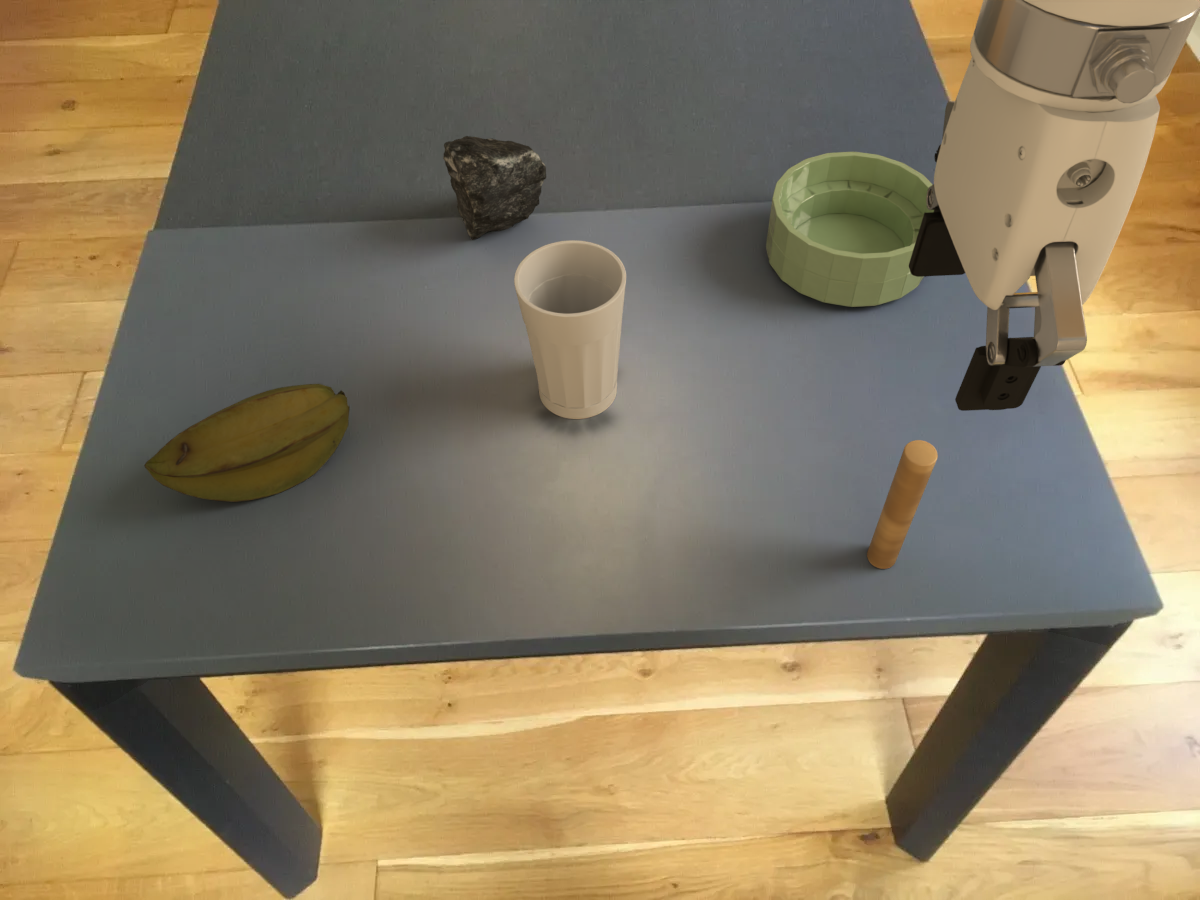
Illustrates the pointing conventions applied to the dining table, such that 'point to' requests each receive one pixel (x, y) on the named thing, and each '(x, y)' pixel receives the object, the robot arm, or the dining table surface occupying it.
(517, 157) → the rock
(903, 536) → the stick
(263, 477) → the fruit
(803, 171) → the bowl
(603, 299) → the cup
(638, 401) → the dining table surface
